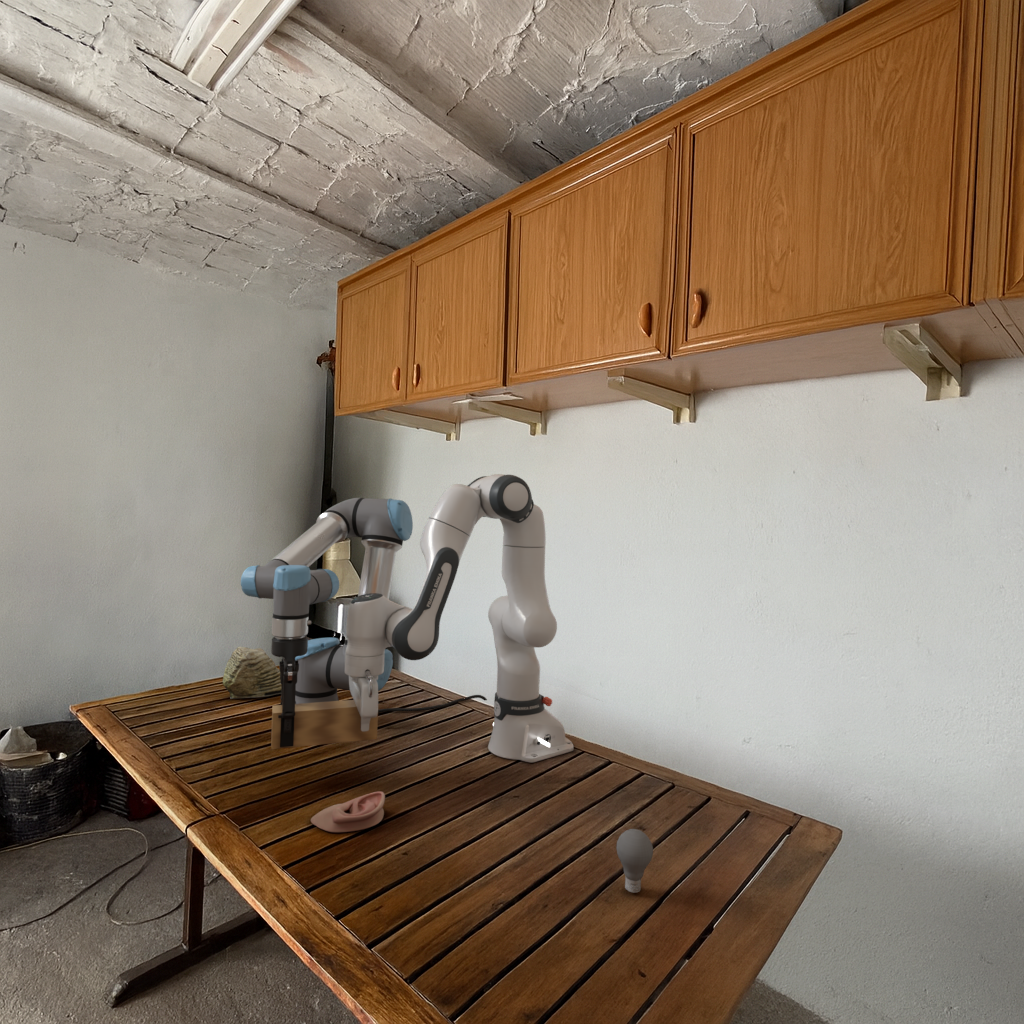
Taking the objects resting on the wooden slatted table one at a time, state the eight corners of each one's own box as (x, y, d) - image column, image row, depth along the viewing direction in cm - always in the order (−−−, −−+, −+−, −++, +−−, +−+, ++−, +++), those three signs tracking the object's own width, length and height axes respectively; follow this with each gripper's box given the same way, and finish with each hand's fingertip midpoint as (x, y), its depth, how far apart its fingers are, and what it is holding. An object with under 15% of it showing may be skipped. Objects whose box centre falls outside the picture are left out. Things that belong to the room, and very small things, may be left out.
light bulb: (610, 879, 108) (613, 822, 108) (644, 879, 109) (647, 822, 109) (619, 902, 102) (622, 840, 102) (655, 901, 103) (658, 840, 103)
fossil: (218, 695, 195) (220, 647, 195) (278, 685, 208) (279, 640, 207) (228, 703, 189) (230, 653, 188) (289, 692, 201) (290, 645, 201)
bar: (271, 749, 136) (272, 713, 136) (271, 740, 141) (272, 705, 141) (376, 739, 144) (378, 705, 144) (373, 731, 149) (374, 698, 149)
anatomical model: (303, 807, 121) (332, 781, 132) (302, 827, 121) (331, 800, 132) (368, 817, 118) (392, 790, 129) (367, 838, 118) (391, 809, 129)
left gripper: (310, 644, 132) (306, 755, 132) (305, 627, 149) (301, 725, 149) (272, 646, 129) (268, 759, 130) (271, 628, 146) (267, 728, 147)
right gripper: (386, 676, 137) (383, 740, 137) (371, 653, 156) (369, 709, 156) (356, 678, 134) (354, 742, 135) (345, 654, 153) (343, 711, 154)
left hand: (286, 740), depth 139 cm, fingers closed on bar, 5 cm apart
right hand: (362, 724), depth 145 cm, fingers open, 6 cm apart
